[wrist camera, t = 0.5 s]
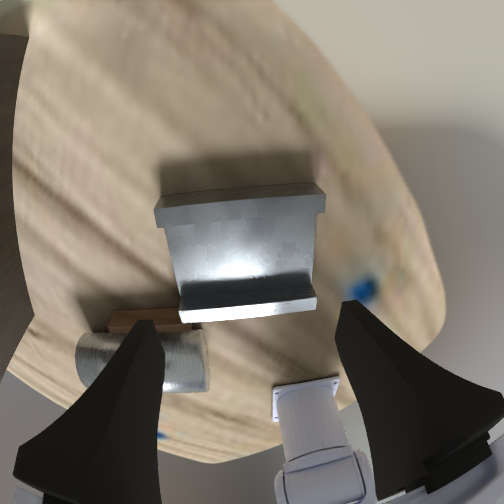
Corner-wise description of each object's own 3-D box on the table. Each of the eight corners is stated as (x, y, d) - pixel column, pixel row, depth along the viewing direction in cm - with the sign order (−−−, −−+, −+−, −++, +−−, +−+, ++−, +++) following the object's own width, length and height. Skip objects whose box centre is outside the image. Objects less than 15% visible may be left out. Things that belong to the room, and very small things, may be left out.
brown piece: (207, 367, 27) (207, 383, 25) (142, 369, 26) (139, 384, 24) (191, 306, 22) (189, 323, 21) (113, 310, 22) (107, 326, 20)
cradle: (308, 291, 23) (315, 309, 21) (184, 303, 22) (181, 323, 20) (314, 183, 18) (325, 194, 16) (160, 196, 17) (153, 209, 16)
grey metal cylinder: (200, 316, 23) (197, 364, 19) (210, 358, 26) (209, 403, 21) (88, 321, 23) (68, 362, 18) (108, 360, 25) (95, 400, 20)
